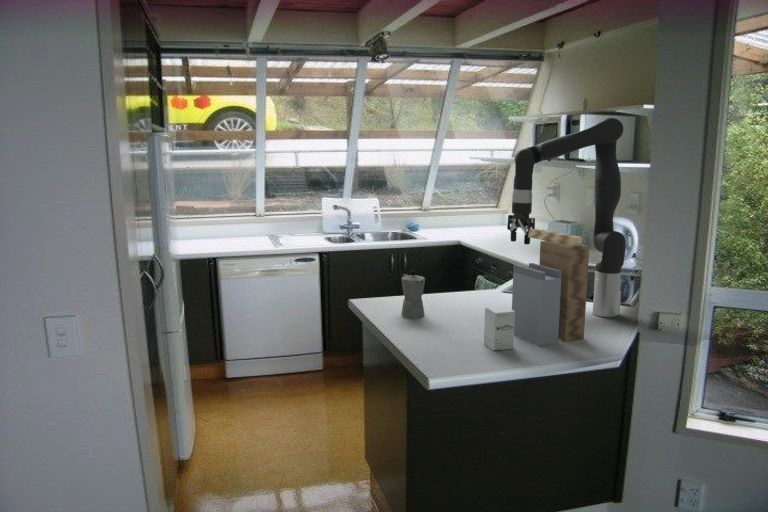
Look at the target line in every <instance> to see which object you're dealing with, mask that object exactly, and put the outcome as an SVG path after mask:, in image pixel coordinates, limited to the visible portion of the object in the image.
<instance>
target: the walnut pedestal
mask: <svg viewBox="0 0 768 512" xmlns="http://www.w3.org/2000/svg"><path fill="white" fill-rule="evenodd" d="M589 256H590V245H587V244H583V243H582V244H581V246H569V245H564V244H559V243H555V242H550V241H545V240H540V245H539V261H538V262H539V264H538V265H542V266H546V267H549V268H553V269H557V270H561V271H562V275H561V294H560V313H559V332H558V340H560V341H562V342H565V343H567V342H573V341H579V340H584V339H585V325H586V324H585V323H586V309H587V307H586V306H587V296H588V295H587V293H588V292H587V291H588V279H589V277H588V275H589V260H590V259H589V258H590V257H589Z"/></svg>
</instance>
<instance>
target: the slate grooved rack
mask: <svg viewBox="0 0 768 512" xmlns="http://www.w3.org/2000/svg"><path fill="white" fill-rule="evenodd" d="M512 267H513V268H512V270H513V273H512V291H511V292H512V295H511V310H513V311H515V326H514V336H516V337H518V338H520V339H522V340H525V341H527V342H529V343H530V344H533V345H535V346H537V347H541V346H543V347H544V346H549V345H553V344H558V343H559V339H558V332H559V313H560V294H561V275H562V271H561V270H557V269H553V268H549V267H546V266H542V265H539V264H537V263H533V262H529V263H528V267H527V266H524V265H520V264H513V266H512Z"/></svg>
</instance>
